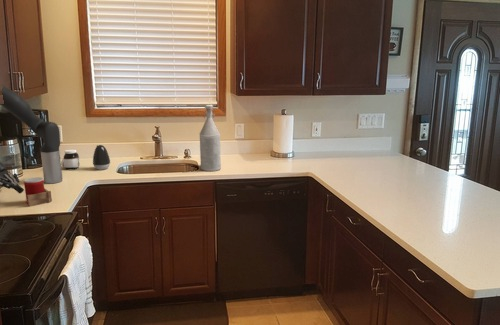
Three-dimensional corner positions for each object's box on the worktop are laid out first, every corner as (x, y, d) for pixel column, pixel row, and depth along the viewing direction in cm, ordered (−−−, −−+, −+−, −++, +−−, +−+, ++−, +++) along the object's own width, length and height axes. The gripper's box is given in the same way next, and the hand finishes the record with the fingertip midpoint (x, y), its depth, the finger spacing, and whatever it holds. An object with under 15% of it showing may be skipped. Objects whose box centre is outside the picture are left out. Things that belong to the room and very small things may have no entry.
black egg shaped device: (106, 166, 265) (104, 142, 261) (113, 169, 257) (111, 145, 254) (90, 168, 258) (88, 144, 255) (96, 171, 251) (94, 147, 247)
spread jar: (74, 170, 254) (73, 151, 252) (56, 170, 254) (54, 151, 252) (83, 166, 266) (81, 148, 263) (65, 166, 266) (63, 148, 264)
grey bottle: (218, 164, 268) (217, 103, 259) (222, 171, 251) (221, 105, 243) (198, 165, 265) (196, 103, 256) (202, 172, 248) (200, 106, 240)
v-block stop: (42, 197, 200) (41, 187, 199) (57, 197, 200) (56, 187, 199) (27, 206, 187) (26, 195, 186) (43, 206, 187) (42, 195, 186)
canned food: (48, 201, 194) (46, 178, 192) (31, 205, 188) (28, 182, 186) (41, 198, 199) (38, 176, 196) (23, 202, 193) (20, 179, 190)
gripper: (-12, 164, 183) (19, 190, 185) (5, 157, 196) (34, 182, 198) (-22, 175, 184) (9, 201, 187) (-4, 168, 197) (25, 193, 200)
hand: (22, 191), depth 193 cm, fingers closed
